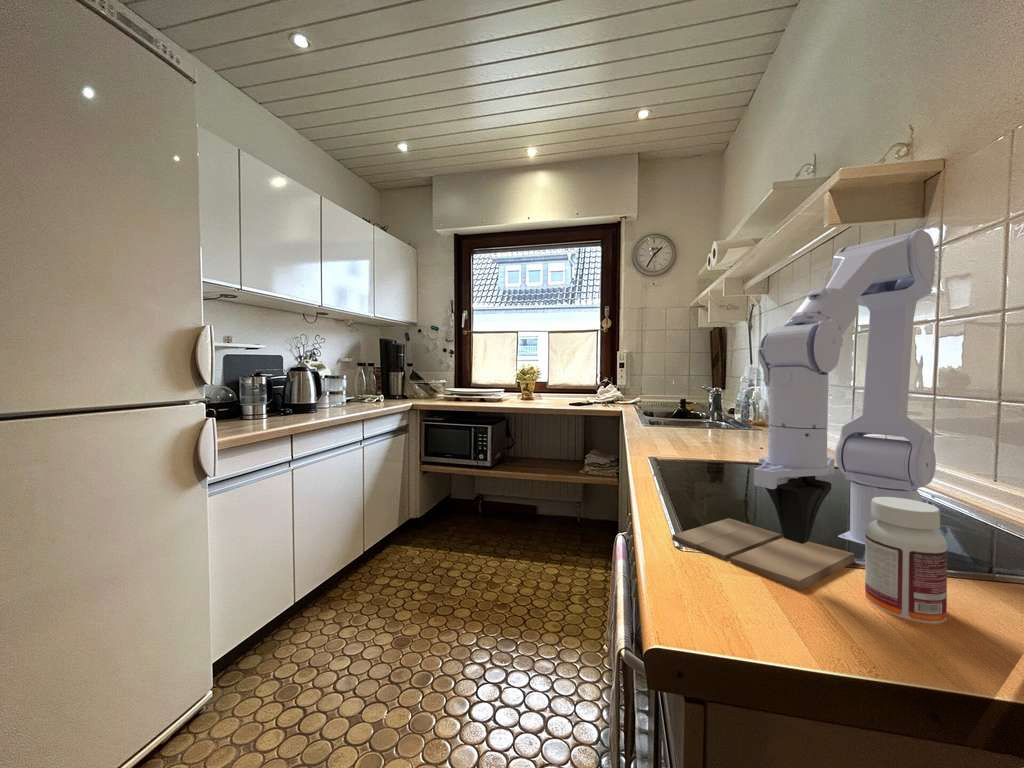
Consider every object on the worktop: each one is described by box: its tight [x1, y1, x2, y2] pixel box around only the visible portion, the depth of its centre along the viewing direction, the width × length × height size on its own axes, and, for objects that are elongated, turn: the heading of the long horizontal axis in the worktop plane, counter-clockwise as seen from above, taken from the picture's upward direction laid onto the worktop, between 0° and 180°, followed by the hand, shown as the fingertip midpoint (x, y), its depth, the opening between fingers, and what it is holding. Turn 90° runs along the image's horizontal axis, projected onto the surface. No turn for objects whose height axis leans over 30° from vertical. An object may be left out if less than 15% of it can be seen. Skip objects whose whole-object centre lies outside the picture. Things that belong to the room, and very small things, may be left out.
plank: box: [729, 536, 855, 592], centre depth 52 cm, size 14×8×1 cm, turn 120°
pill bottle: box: [864, 497, 949, 624], centre depth 42 cm, size 6×6×11 cm
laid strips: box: [671, 517, 782, 561], centre depth 60 cm, size 14×9×1 cm, turn 120°
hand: (795, 540), depth 48 cm, fingers closed
